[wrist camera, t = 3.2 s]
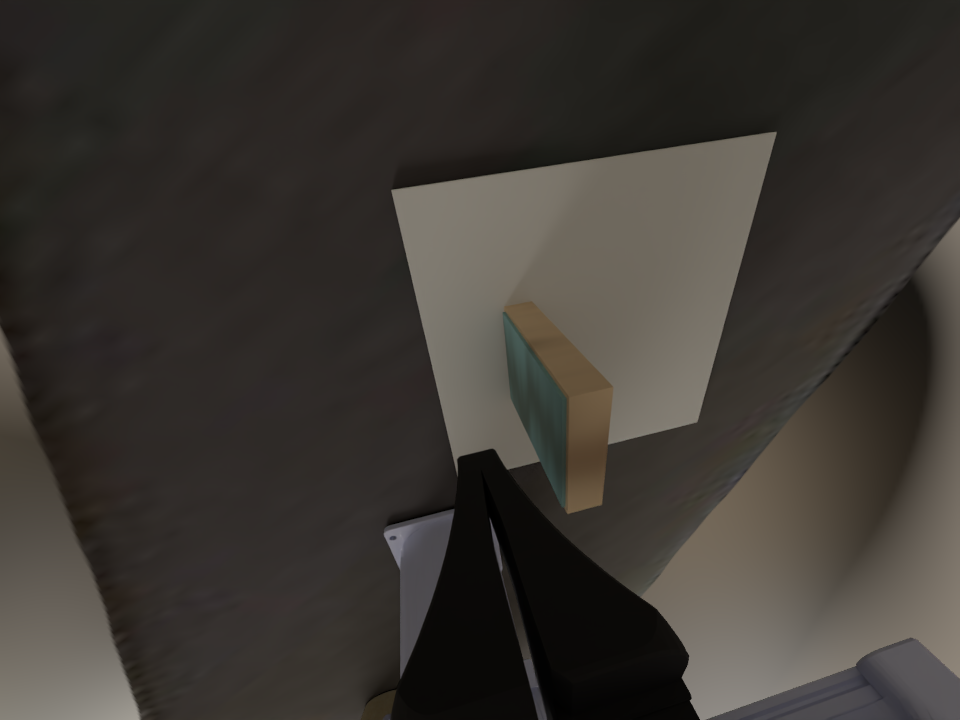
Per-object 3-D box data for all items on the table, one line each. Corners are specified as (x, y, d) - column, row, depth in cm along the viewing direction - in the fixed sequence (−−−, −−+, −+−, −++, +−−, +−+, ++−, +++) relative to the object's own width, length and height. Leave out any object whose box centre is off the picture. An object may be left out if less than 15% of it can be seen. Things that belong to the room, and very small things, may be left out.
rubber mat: (692, 417, 26) (697, 422, 25) (457, 476, 24) (458, 481, 23) (767, 132, 16) (776, 131, 16) (391, 189, 14) (391, 190, 14)
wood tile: (536, 393, 21) (601, 504, 14) (509, 399, 21) (563, 514, 14) (531, 301, 18) (613, 387, 11) (501, 307, 18) (565, 398, 11)
